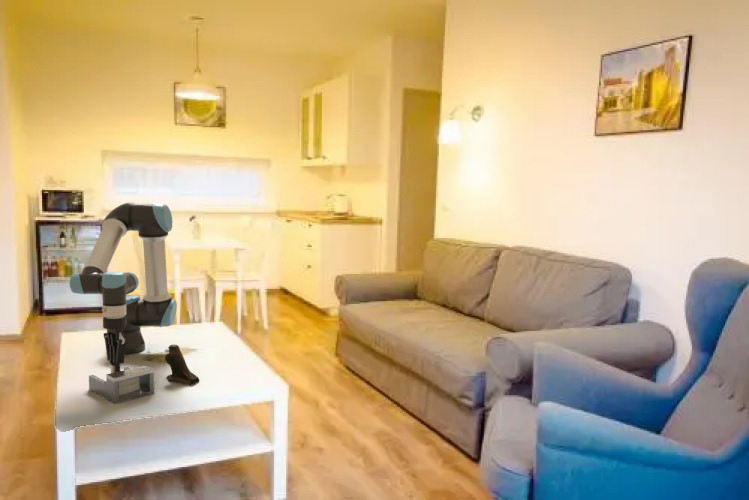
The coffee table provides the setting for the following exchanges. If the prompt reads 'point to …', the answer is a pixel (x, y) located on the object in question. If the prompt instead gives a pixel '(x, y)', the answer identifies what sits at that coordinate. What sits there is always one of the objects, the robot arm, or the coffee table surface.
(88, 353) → the coffee table surface
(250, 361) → the coffee table surface
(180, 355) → the sculpture
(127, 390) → the small box
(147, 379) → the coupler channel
